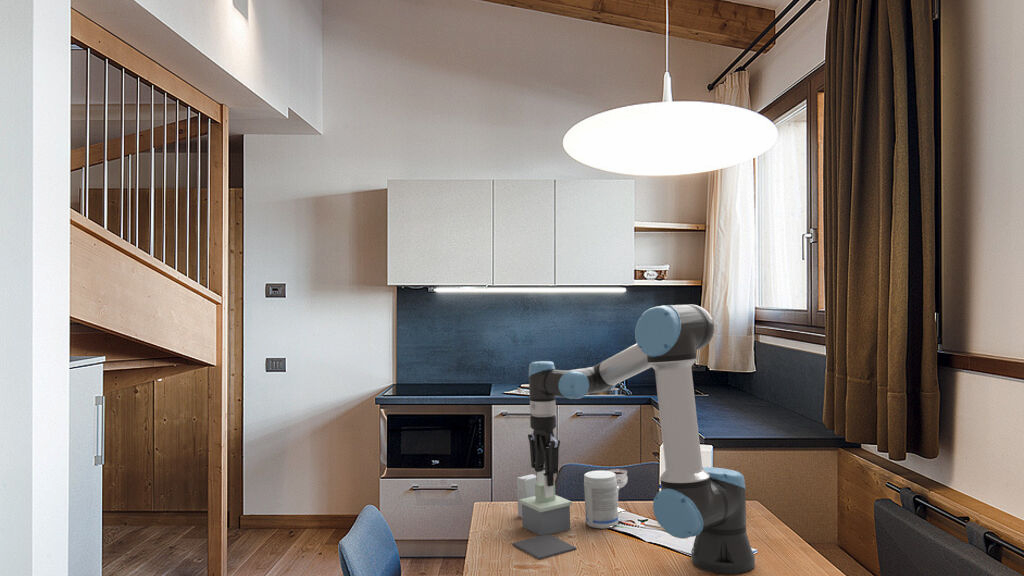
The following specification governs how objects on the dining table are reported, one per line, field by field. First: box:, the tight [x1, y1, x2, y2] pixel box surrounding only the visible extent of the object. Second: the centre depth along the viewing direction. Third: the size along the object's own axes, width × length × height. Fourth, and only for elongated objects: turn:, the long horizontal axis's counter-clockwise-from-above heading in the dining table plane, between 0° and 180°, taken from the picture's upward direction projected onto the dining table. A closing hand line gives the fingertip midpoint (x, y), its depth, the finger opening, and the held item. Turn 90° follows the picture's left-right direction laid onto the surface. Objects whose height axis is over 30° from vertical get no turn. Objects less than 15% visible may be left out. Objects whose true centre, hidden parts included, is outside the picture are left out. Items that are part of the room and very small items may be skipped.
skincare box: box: [516, 473, 537, 518], centre depth 212 cm, size 6×4×12 cm
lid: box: [519, 482, 573, 512], centre depth 201 cm, size 11×11×7 cm
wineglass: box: [606, 468, 629, 512], centre depth 215 cm, size 7×7×12 cm
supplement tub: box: [583, 470, 619, 530], centre depth 202 cm, size 10×10×15 cm
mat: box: [512, 534, 577, 560], centre depth 186 cm, size 13×12×1 cm
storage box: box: [521, 504, 571, 536], centre depth 201 cm, size 10×10×7 cm
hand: (545, 495), depth 201 cm, fingers closed on lid, 3 cm apart
